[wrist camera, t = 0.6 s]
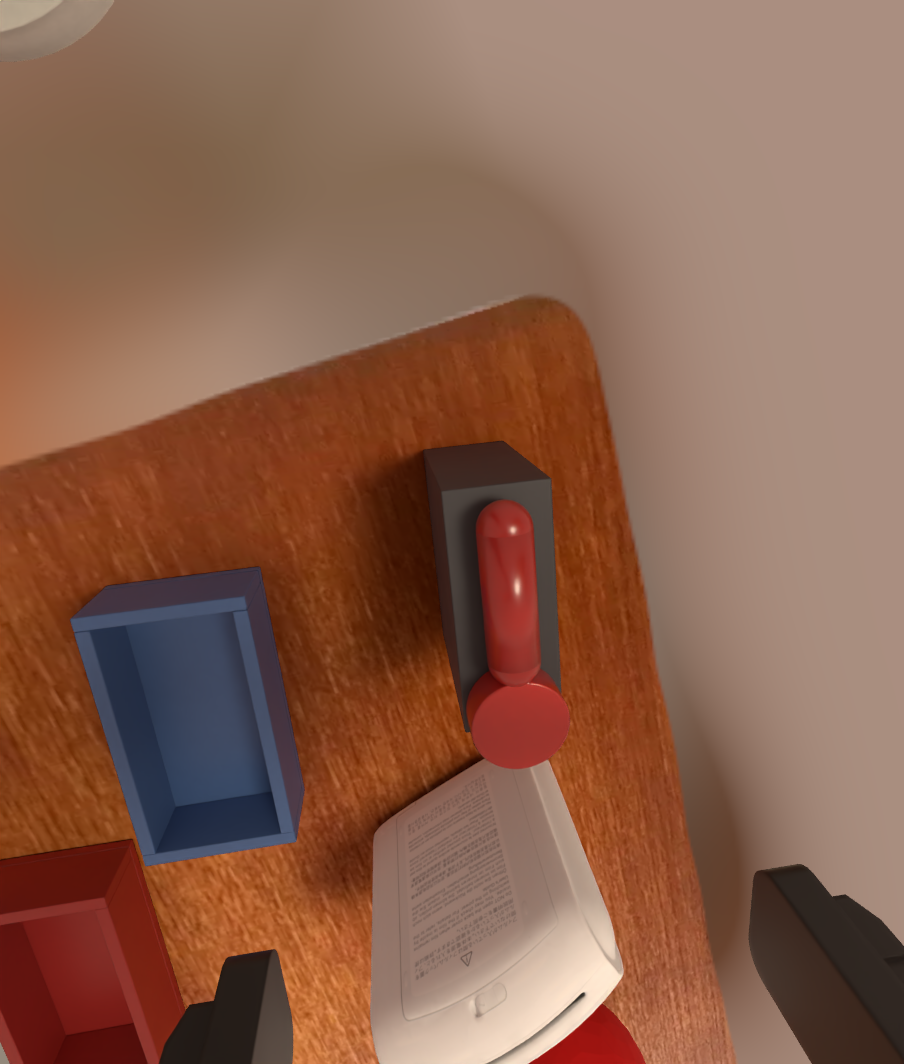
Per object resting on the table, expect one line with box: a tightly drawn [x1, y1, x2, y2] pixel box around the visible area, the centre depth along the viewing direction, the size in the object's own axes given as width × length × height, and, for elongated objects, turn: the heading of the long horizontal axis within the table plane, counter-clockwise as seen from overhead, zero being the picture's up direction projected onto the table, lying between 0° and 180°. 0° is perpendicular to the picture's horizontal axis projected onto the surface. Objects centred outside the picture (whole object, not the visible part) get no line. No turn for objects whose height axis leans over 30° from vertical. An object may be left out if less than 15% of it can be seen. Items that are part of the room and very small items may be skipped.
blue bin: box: [70, 567, 305, 866], centre depth 28 cm, size 12×7×4 cm, turn 5°
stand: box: [423, 441, 561, 732], centre depth 25 cm, size 9×4×8 cm, turn 5°
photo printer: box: [370, 759, 624, 1064], centre depth 27 cm, size 10×4×12 cm, turn 123°
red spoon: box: [466, 499, 570, 769], centre depth 21 cm, size 10×3×2 cm, turn 5°
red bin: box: [0, 840, 185, 1064], centre depth 31 cm, size 12×7×4 cm, turn 5°
